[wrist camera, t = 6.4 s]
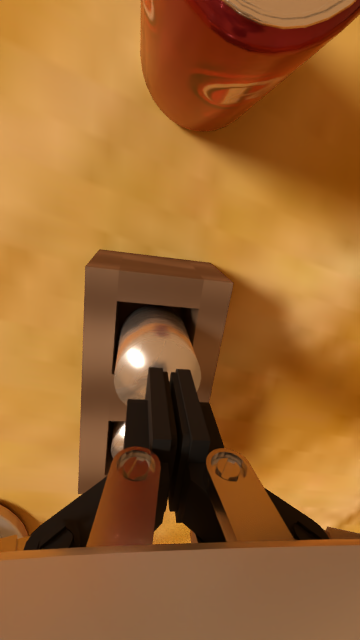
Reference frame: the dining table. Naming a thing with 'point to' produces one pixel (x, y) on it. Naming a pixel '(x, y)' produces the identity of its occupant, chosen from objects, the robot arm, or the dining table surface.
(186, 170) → the dining table surface
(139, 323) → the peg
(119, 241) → the dining table surface
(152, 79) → the soda can
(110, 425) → the walnut block
